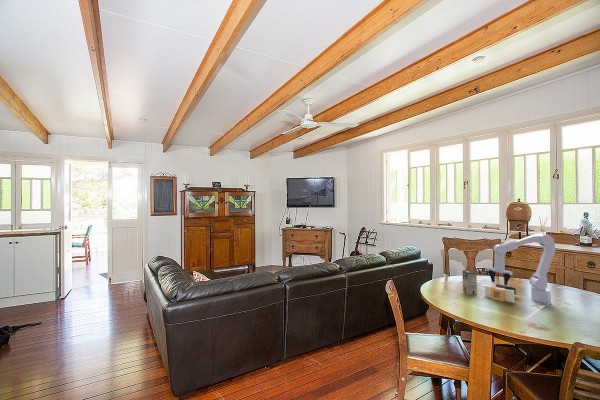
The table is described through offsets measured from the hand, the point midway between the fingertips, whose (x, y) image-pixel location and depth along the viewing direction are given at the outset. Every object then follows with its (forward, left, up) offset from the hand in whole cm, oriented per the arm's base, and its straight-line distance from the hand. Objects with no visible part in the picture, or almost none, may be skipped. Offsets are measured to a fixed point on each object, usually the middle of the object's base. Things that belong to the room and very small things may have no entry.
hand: (499, 283), depth 192 cm
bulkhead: (-1, +5, -11) cm, 12 cm away
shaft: (-1, +1, -7) cm, 7 cm away
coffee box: (+17, +5, -11) cm, 20 cm away
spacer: (-1, +7, -9) cm, 12 cm away
